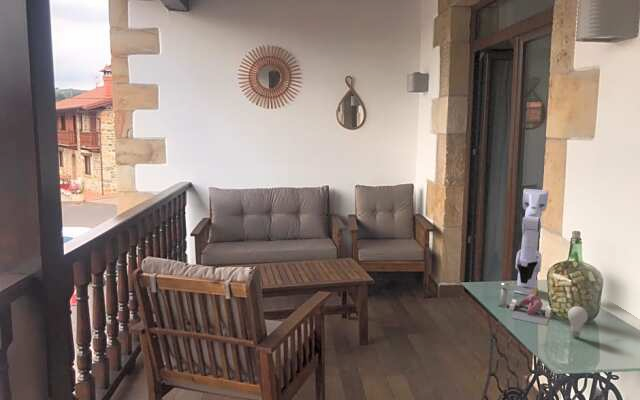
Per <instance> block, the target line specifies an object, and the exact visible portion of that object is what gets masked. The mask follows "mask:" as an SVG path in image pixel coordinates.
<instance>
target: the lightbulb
mask: <svg viewBox="0 0 640 400" xmlns="http://www.w3.org/2000/svg"><path fill="white" fill-rule="evenodd" d="M588 315H589V314H588V312H587V311H586V309H585V308H583V306H582V307H581V306H572V307H571V308H570V309H569V310H568V311H567V318H568V320H569V322H570V329H571V330H570V331H571V333H570V334H571V337H573V338H575V339H578V338H579V337H580V335H581V331H582V329H583V326H584V325H585V323H586V322H587V321H588V318H589V316H588Z"/></svg>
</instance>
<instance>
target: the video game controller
mask: <svg viewBox="0 0 640 400" xmlns="http://www.w3.org/2000/svg"><path fill="white" fill-rule="evenodd" d="M543 304H544V303H543V301H542V299H541V298H540V297H539V296H537V295H531V294H530V295H527V296H526V297H524V298H523V299H521V300H520V301H519V303H518V305H519V306H520V307H525V306H527V308H528V309H527V311H526V313H527V314H536V313H537V312H539V311H540V310H541V309H542V308H543Z"/></svg>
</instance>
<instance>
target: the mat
mask: <svg viewBox="0 0 640 400" xmlns="http://www.w3.org/2000/svg"><path fill="white" fill-rule="evenodd" d="M511 319H514V320H518V321H522V322H527V323H528V322H529V323H532V324H533V323H534V324H537V325H544V326H548V322H549V319H550V317H545V315H539V314H536V313H534V314H527V312H525V311H519V310H514V312H513V314H512V317H511Z"/></svg>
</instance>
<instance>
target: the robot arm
mask: <svg viewBox="0 0 640 400" xmlns="http://www.w3.org/2000/svg"><path fill="white" fill-rule="evenodd" d="M522 194H523V195H522V209H524V210H525V213H524V214H525V215H524V216H523V218H522V238H521V248H520V249H519V250H518V251H517V252H516V258H515V266H514V267H515V269H516V270H517V272H518V273H517V279H516V280H517V281H516V282H517V283H516V285H518V286H524V287H530V288H536V285H537V284H536V283H537V276H538V273H540V272H541V268H542V254H541V252H540V251H538V245H539V244H538V243H539V234H540V231H541V229H542V227H541V226H542V213H543V212H545V211H546V209H547V205H548V200H549V199H548V198H549V190H548V189H546V190H545V189H534V188H533V189H532V188H524V189H523V193H522ZM513 292H514V293H515V294H521V295H527V296H528V295H530V293H525V292H519V291H514V290H513ZM531 295H533V294H531Z"/></svg>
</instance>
